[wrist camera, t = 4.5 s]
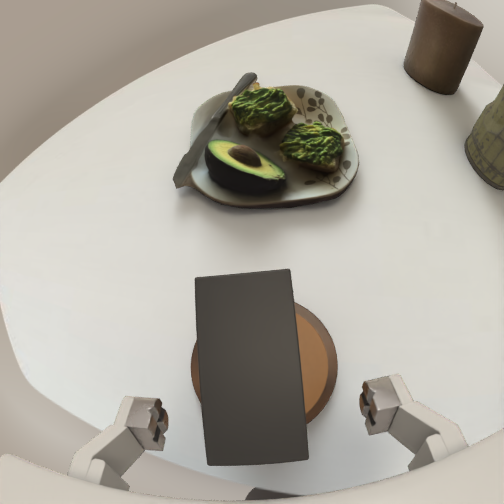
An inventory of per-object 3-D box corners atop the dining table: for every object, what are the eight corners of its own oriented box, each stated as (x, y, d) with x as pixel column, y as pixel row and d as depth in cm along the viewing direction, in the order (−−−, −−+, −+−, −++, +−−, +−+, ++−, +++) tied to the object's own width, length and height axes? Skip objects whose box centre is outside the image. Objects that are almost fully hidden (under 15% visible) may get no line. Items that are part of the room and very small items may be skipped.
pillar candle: (461, 103, 32) (496, 29, 18) (405, 81, 34) (431, -2, 20) (449, 71, 36) (474, 5, 22) (399, 52, 37) (417, -19, 23)
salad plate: (188, 91, 34) (180, 63, 30) (325, 80, 34) (328, 53, 29) (175, 221, 27) (159, 194, 23) (368, 205, 26) (382, 177, 22)
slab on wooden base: (330, 418, 19) (431, 493, 5) (207, 428, 19) (103, 513, 5) (318, 301, 22) (389, 188, 8) (199, 312, 22) (93, 219, 8)
